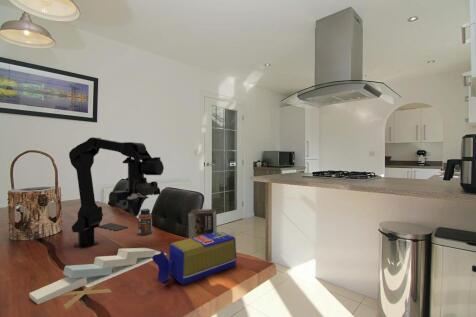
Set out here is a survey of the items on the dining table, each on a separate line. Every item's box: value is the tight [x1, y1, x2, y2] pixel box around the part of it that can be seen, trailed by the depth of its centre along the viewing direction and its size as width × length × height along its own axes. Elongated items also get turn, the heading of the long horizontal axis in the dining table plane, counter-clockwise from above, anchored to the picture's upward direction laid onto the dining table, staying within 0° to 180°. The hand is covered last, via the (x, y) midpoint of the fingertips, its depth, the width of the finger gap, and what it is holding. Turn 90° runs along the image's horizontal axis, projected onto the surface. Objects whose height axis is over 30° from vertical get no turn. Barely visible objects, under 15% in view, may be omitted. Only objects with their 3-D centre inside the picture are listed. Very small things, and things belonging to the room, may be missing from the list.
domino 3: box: [93, 254, 137, 268], centre depth 78 cm, size 2×5×11 cm
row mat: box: [84, 250, 168, 288], centre depth 80 cm, size 9×27×1 cm, turn 147°
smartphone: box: [98, 222, 129, 232], centre depth 127 cm, size 7×1×15 cm
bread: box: [152, 231, 237, 286], centre depth 76 cm, size 10×25×10 cm, turn 129°
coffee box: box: [187, 208, 218, 239], centre depth 89 cm, size 9×6×16 cm
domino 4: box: [116, 247, 156, 259], centre depth 84 cm, size 2×5×11 cm
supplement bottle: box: [137, 208, 153, 236], centre depth 116 cm, size 6×6×11 cm
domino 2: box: [62, 263, 113, 279], centre depth 71 cm, size 2×5×11 cm
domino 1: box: [29, 276, 87, 305], centre depth 65 cm, size 2×5×11 cm
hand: (136, 215), depth 96 cm, fingers closed
